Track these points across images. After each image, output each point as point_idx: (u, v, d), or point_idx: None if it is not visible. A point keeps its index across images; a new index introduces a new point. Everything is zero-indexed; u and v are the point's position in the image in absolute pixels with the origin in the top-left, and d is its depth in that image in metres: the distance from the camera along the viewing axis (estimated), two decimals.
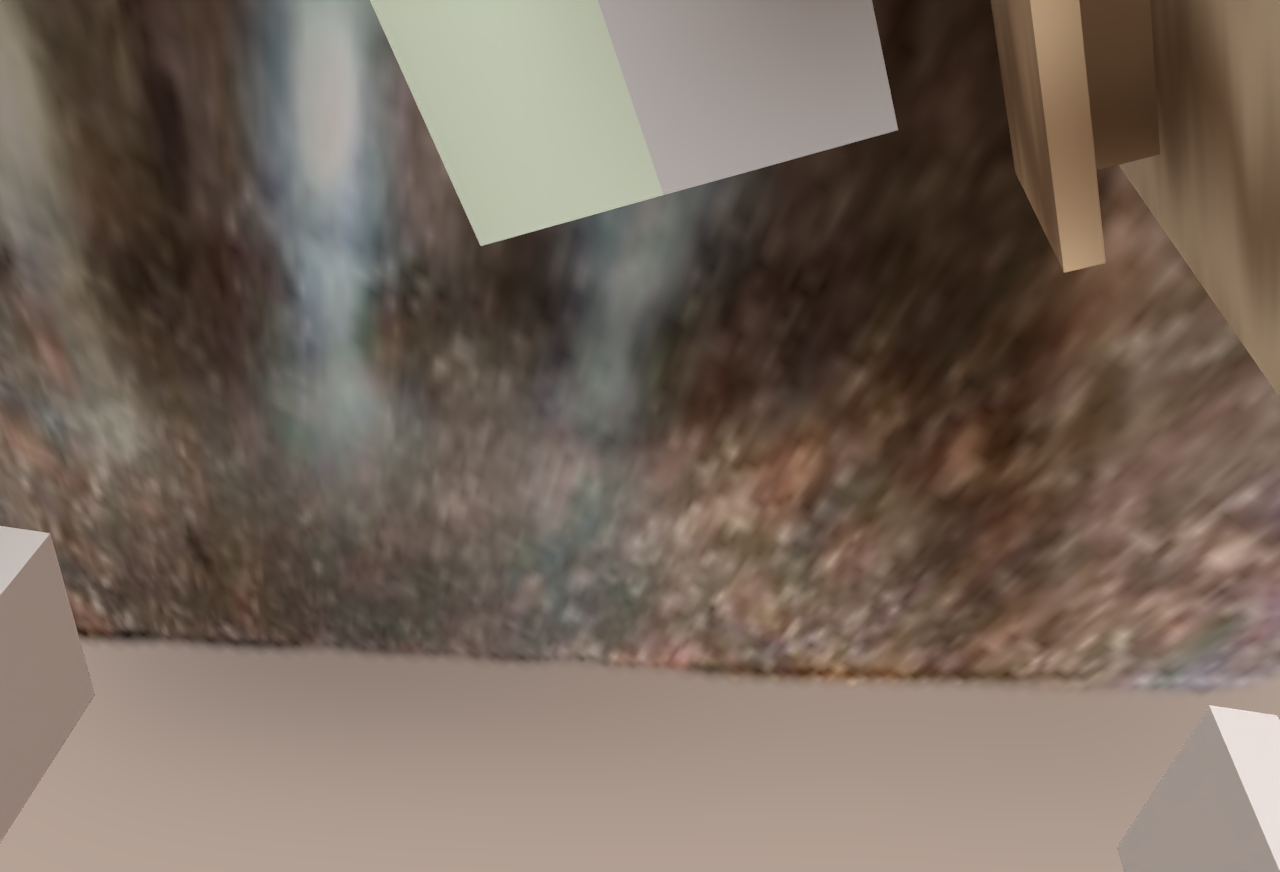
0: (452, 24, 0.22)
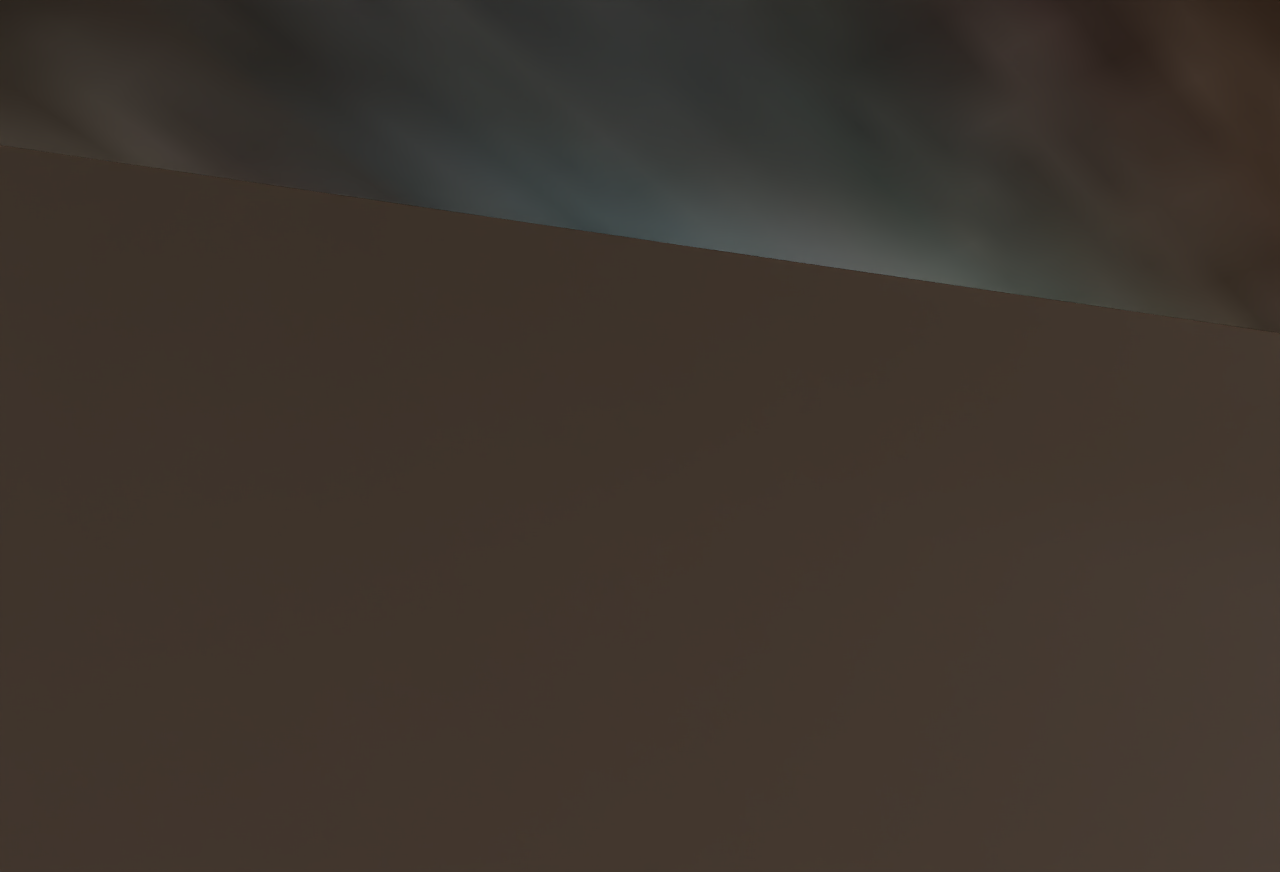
0: None
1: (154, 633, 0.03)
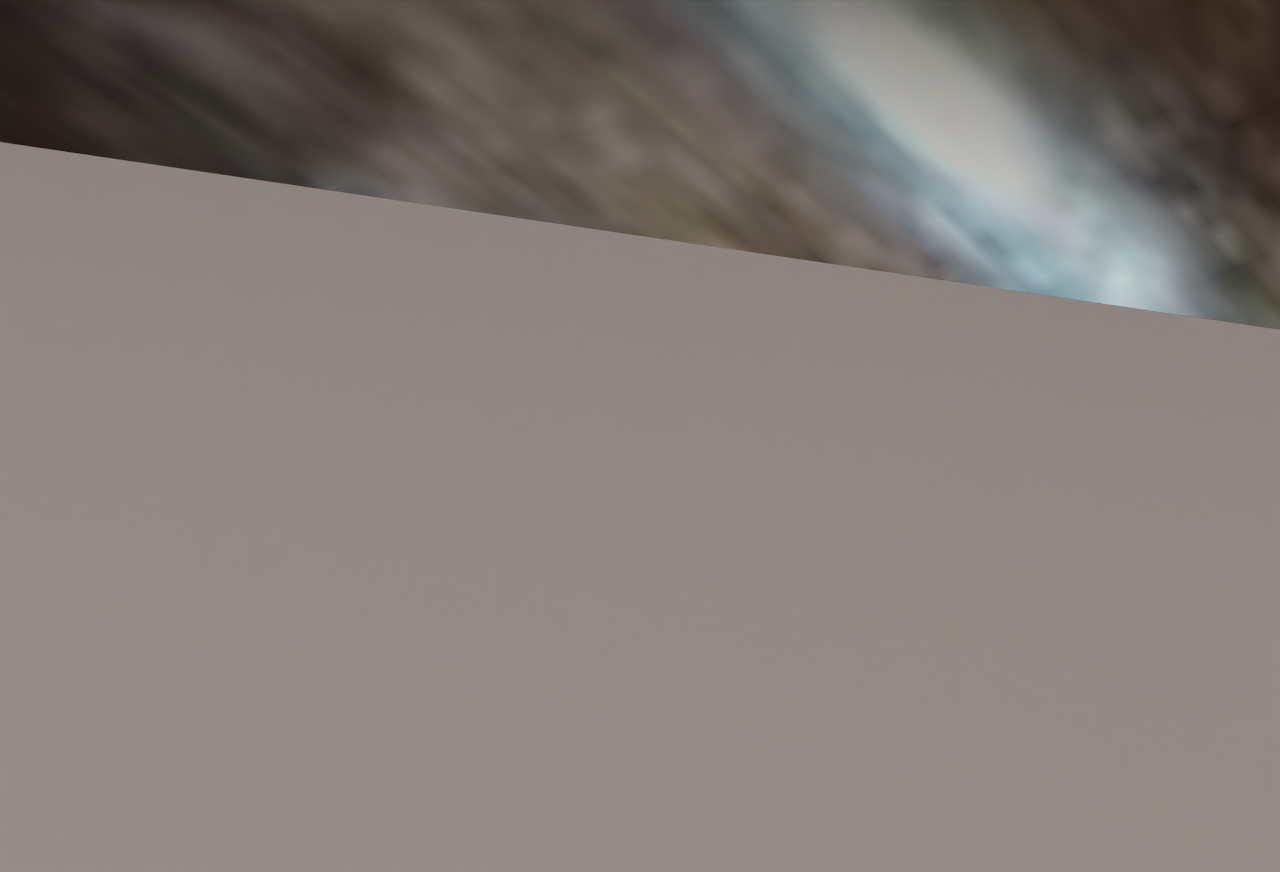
0: None
1: (163, 621, 0.03)
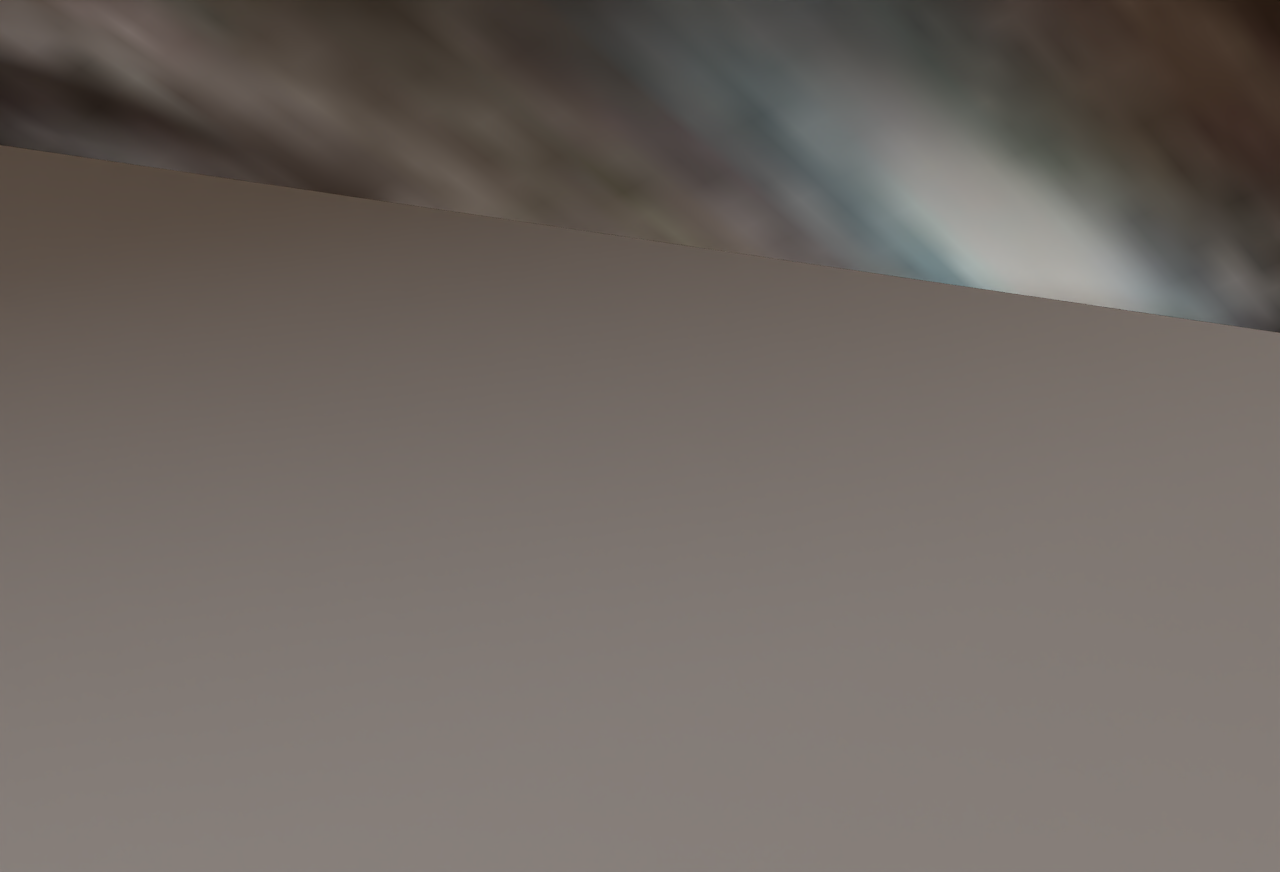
0: None
1: (157, 632, 0.03)
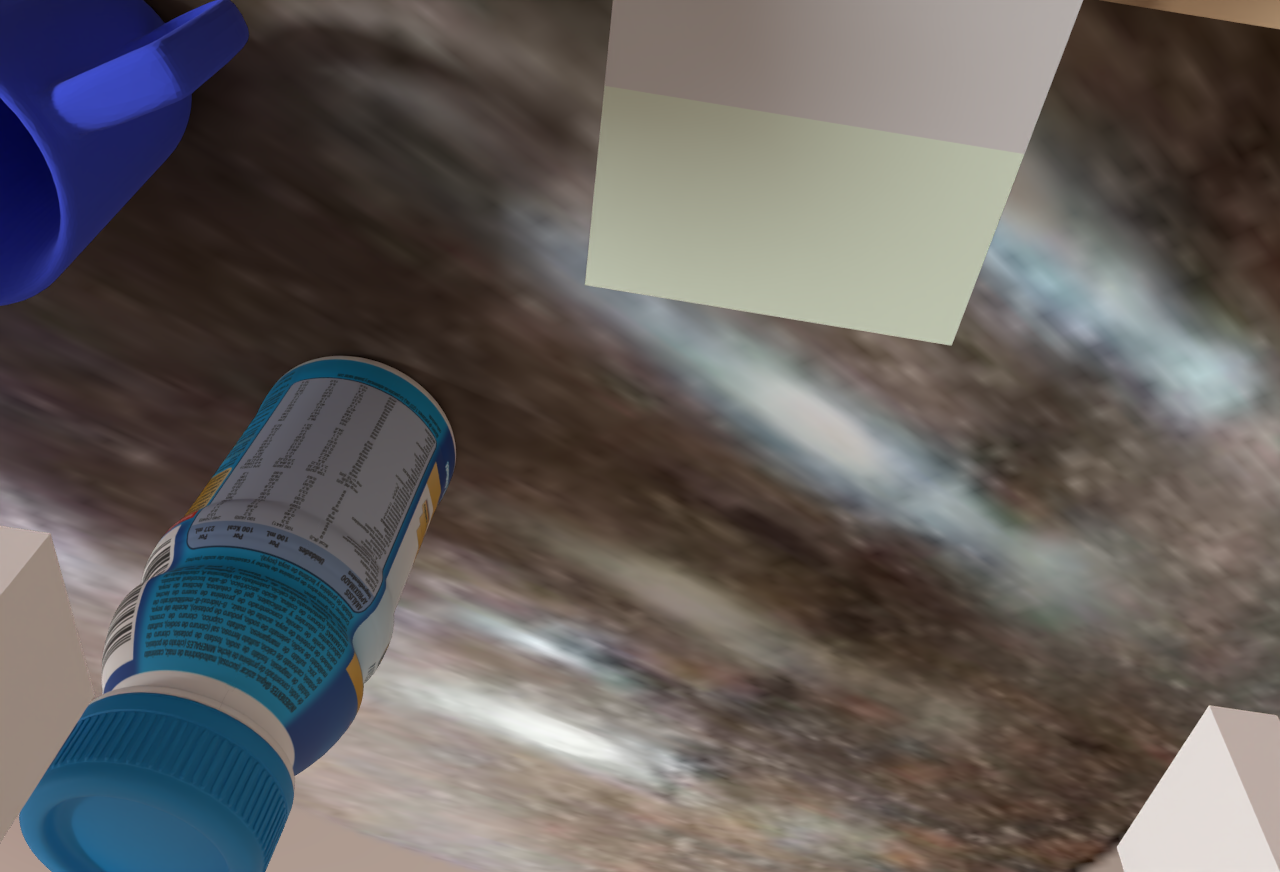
0: (743, 251, 0.22)
1: None
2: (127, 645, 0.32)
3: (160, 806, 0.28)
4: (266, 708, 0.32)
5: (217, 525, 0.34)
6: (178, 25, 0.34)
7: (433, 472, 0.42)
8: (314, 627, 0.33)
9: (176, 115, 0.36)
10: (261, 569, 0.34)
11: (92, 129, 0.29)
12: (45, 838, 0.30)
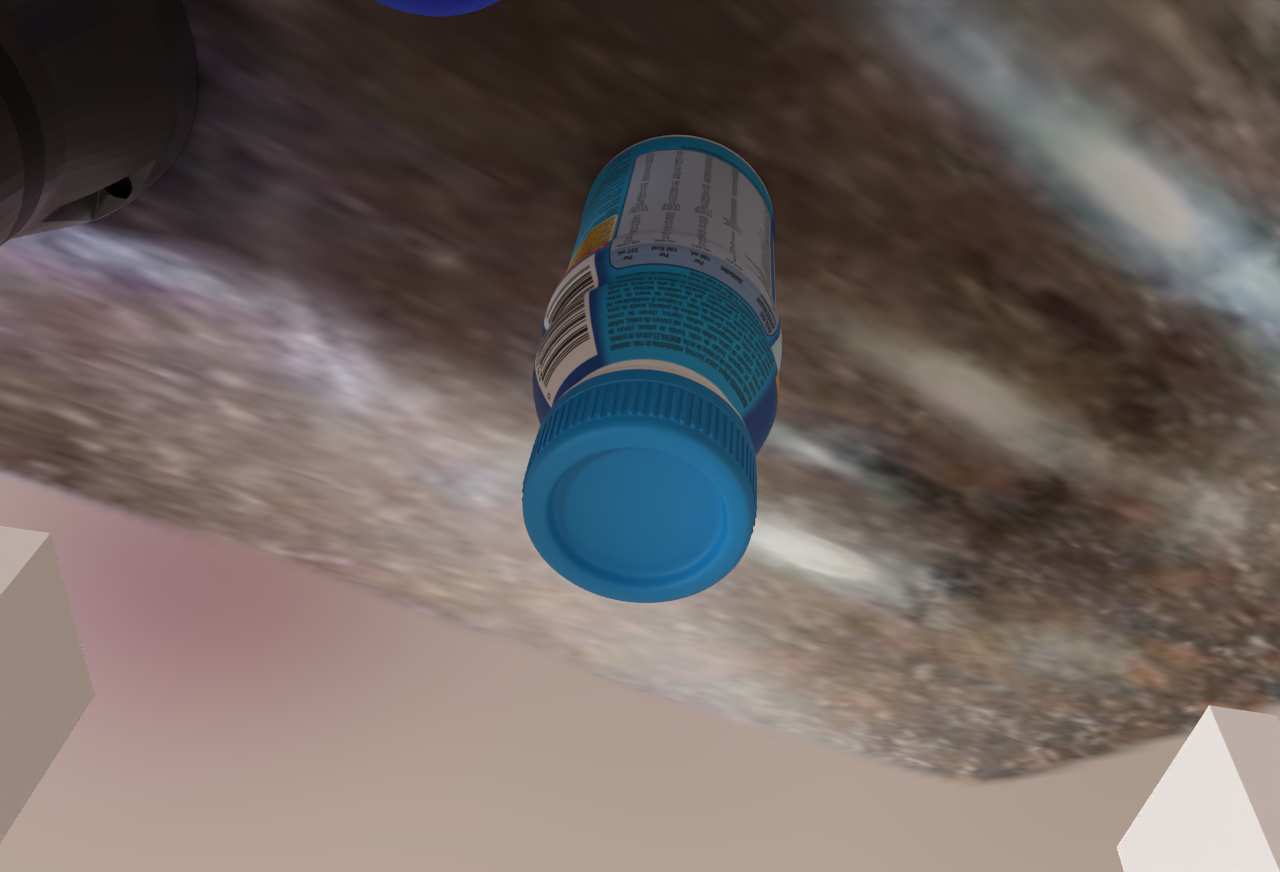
0: None
1: None
2: (587, 343, 0.33)
3: (686, 455, 0.29)
4: (727, 399, 0.33)
5: (640, 246, 0.35)
6: None
7: (773, 242, 0.43)
8: (754, 332, 0.34)
9: None
10: (694, 282, 0.35)
11: None
12: (546, 508, 0.31)
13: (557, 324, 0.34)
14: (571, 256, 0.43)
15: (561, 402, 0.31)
